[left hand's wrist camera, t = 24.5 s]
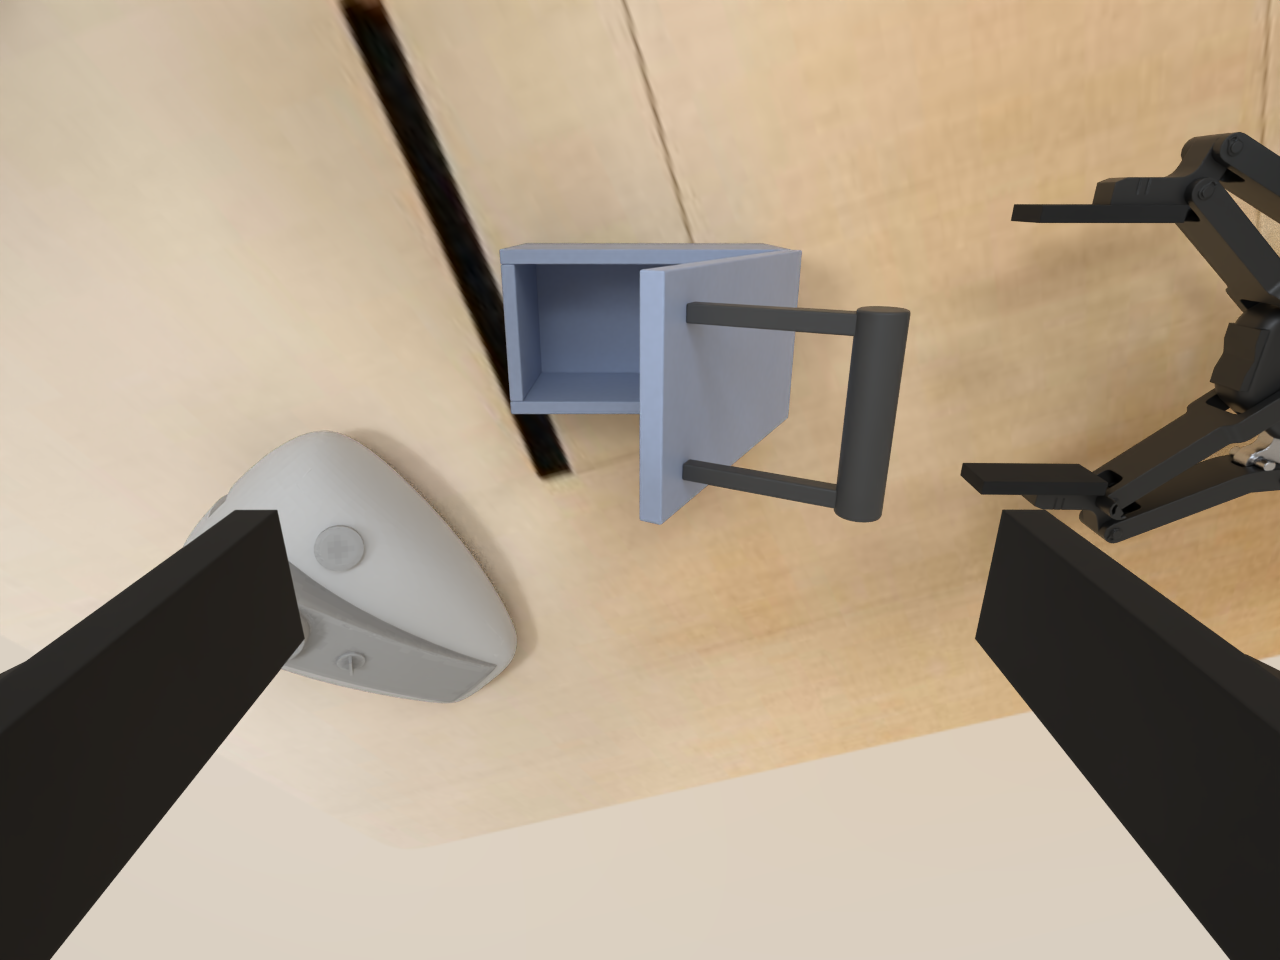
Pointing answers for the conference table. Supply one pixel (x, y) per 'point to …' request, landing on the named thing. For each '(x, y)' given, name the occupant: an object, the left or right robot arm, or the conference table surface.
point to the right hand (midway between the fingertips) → (995, 355)
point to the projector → (374, 574)
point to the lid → (754, 383)
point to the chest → (584, 320)
